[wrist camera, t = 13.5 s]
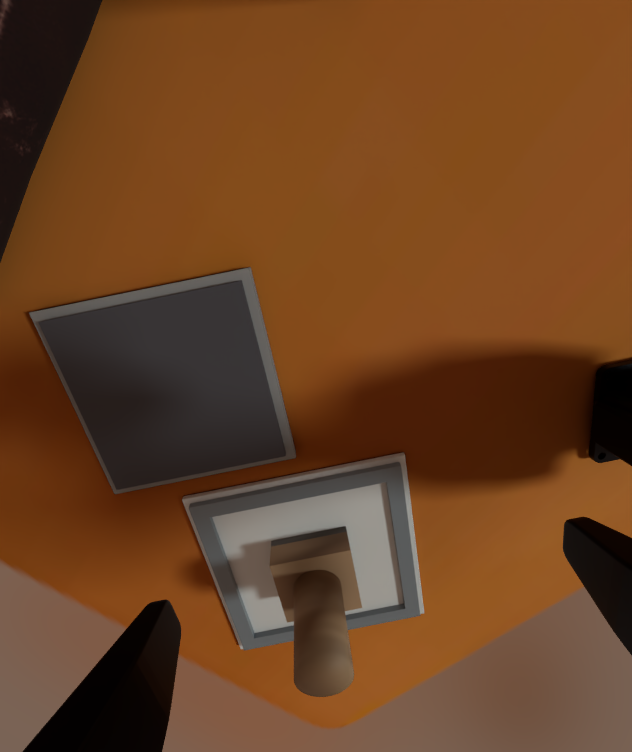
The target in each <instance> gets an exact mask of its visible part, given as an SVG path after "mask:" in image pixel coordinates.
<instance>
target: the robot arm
mask: <svg viewBox="0 0 632 752" xmlns="http://www.w3.org/2000/svg"><path fill="white" fill-rule="evenodd" d="M608 372H609V373H608ZM607 373H608V375H607V376H606V374H607ZM589 457H590V458H591V459H592V460H594V461H595V462H597V463H603V462H608V461H613V460H618V459H621V460H623V461H625V462H626V463H628V464H629V465H631V466H632V360H630V361H625V362H620V363H615V364H610V365H605V366H603V367H601V368H600V369H599V370H598V371H597V373H596V381H595V393H594V404H593V416H592V427H591V439H590V450H589ZM563 551H564V554H565V556H566V558H567V560H568V562H569V563H570V565H571V566H572V568H573V569H574V571H575V573H576V574H577V576H578V577H579V579H580V580H581V582H582V583H583V585H584V587H585V588H586V590H587V591H588V593H589V594H590V596H591V597H592V599H593V600H594V602H595V604H596V605H597V607H598V608H599V610H600V611H601V613H602V614H603V616H604V618H605V619H606V620H607V622H608V624H609V625H610V627H611V628H612V629H613V631H614V632H615V634H616V635H617V637H618V638H619V639H620V641H621V642H622V643H623V645H624V646H625V647H626V648H627V650H628V651H629V652H630V654H631V655H632V538H630V537H628V536H626V535H624V534H622V533H620V532H618V531H616V530H613V529H611V528H609V527H607V526H605V525H603V524H601V523H598V522H596V521H594V520H592V519H590V518H587V517H579V518H574V519H569V520H567V521H566V522H565V524H564V536H563ZM180 639H181V626H180V622H179V620H178V618H177V616H176V614H175V611H174V609H173V607H172V605H171V603H170V602H169V601H168V600H160V601H155V602H151V603H149V604H148V605H147V606H146V607H145V608H144V609H143V610H142V611H141V613H140V614H139V615H138V616H137V617H136V618H135V620H134V621H133V622H132V623H131V624H130V626H129V627H128V628H127V629H126V630H125V631H124V633H123V634H122V635H121V636H120V637H119V638H118V640H117V641H116V642H115V643H114V644H113V646H112V647H111V648H110V649H109V650H108V651H107V653H106V654H105V655H104V656H103V657H102V659H101V660H100V661H99V662H98V663H97V664H96V666H95V667H94V668H93V669H92V670H91V672H90V673H89V674H88V675H87V676H86V677H85V679H84V680H83V681H82V682H81V683H80V685H79V686H78V687H77V688H76V689H75V690H74V692H73V693H72V694H71V695H70V696H69V697H68V699H67V700H66V701H65V702H64V703H63V705H62V706H61V707H60V708H59V709H58V710H57V712H56V713H55V714H54V715H53V716H52V717H51V719H50V720H49V721H48V722H47V723H46V725H45V726H44V727H43V728H42V729H41V730H40V732H39V733H38V734H37V735H36V736H35V737H34V739H33V740H32V741H31V742H30V743H29V745H28V746H27V747H26V748H25V749H24V750H23V752H162V749H163V745H164V740H165V736H166V731H167V726H168V721H169V716H170V710H171V703H172V696H173V689H174V682H175V675H176V667H177V660H178V653H179V646H180Z"/></svg>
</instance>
